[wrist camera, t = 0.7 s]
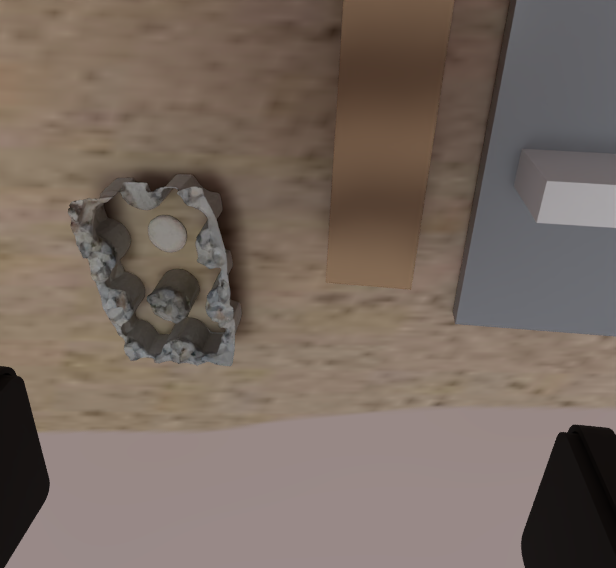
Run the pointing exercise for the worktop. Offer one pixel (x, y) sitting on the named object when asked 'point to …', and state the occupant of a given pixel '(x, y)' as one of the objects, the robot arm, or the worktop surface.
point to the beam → (384, 136)
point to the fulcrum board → (552, 116)
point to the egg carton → (174, 284)
